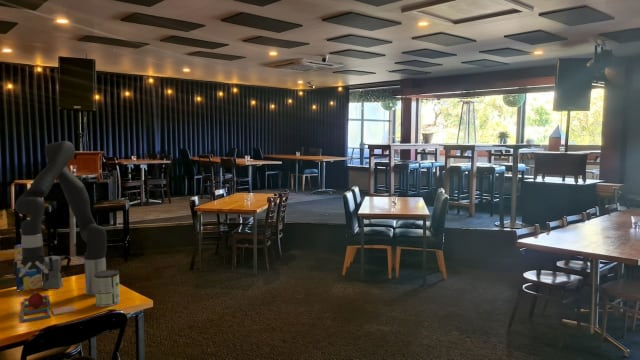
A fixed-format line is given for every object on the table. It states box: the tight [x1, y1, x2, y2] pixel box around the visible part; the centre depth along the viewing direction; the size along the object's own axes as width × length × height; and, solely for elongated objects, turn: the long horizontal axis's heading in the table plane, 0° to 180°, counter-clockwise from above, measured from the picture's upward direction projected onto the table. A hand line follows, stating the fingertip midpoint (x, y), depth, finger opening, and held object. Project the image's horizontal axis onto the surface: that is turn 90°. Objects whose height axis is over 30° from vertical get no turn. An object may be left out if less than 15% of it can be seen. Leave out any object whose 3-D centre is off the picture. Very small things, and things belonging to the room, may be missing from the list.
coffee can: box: [94, 269, 121, 308], centre depth 216 cm, size 10×10×14 cm
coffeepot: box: [42, 251, 72, 291], centre depth 241 cm, size 15×9×18 cm, turn 117°
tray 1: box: [22, 294, 51, 305], centre depth 218 cm, size 10×10×1 cm
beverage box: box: [13, 244, 43, 291], centre depth 239 cm, size 7×11×22 cm, turn 120°
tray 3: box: [21, 307, 52, 323], centre depth 200 cm, size 10×10×1 cm
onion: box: [27, 290, 45, 310], centre depth 209 cm, size 6×6×8 cm
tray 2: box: [22, 300, 51, 312], centre depth 209 cm, size 10×10×1 cm
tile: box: [51, 305, 76, 317], centre depth 206 cm, size 8×8×1 cm
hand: (34, 283), depth 199 cm, fingers open, 8 cm apart
